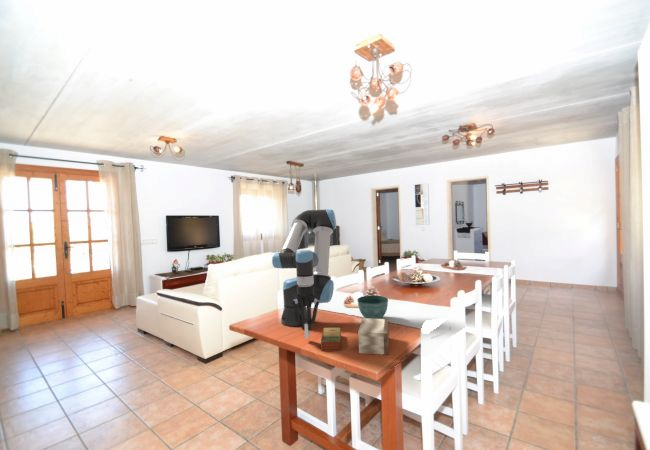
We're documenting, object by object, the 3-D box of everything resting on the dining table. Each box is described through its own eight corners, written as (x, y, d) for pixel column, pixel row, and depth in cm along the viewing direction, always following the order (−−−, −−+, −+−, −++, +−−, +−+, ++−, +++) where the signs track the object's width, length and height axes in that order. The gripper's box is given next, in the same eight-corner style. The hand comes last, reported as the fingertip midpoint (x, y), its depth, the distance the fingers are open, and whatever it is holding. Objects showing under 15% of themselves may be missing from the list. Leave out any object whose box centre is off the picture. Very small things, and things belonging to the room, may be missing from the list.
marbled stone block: (359, 352, 121) (358, 332, 121) (363, 336, 138) (362, 318, 138) (388, 354, 119) (387, 333, 119) (388, 337, 135) (388, 319, 135)
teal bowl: (380, 326, 149) (379, 305, 149) (352, 321, 159) (351, 300, 159) (393, 317, 162) (393, 297, 162) (367, 312, 172) (366, 294, 172)
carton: (341, 336, 140) (340, 327, 140) (341, 351, 124) (340, 341, 124) (323, 336, 141) (323, 327, 141) (320, 351, 125) (320, 341, 125)
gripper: (288, 286, 132) (290, 339, 133) (317, 287, 129) (319, 341, 130) (294, 283, 140) (296, 333, 140) (321, 283, 137) (323, 335, 137)
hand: (307, 337), depth 135 cm, fingers closed
